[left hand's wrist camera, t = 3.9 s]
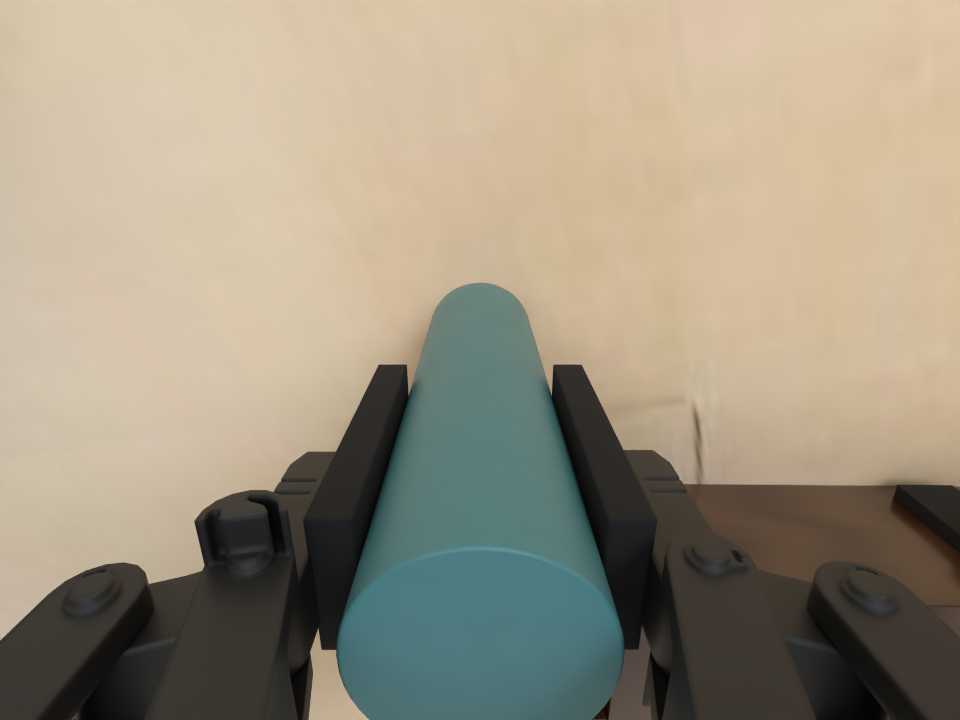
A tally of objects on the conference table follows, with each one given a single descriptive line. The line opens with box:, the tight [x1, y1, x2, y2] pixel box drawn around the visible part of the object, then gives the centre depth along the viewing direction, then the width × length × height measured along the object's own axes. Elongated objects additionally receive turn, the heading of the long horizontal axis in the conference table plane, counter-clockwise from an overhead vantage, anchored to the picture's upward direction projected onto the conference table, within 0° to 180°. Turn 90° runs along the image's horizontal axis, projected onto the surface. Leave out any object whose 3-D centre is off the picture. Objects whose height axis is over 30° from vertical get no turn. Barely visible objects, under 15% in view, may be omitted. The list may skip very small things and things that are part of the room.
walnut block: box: [591, 485, 960, 720], centre depth 25 cm, size 28×8×8 cm, turn 90°
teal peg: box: [336, 283, 625, 720], centre depth 14 cm, size 4×4×15 cm
